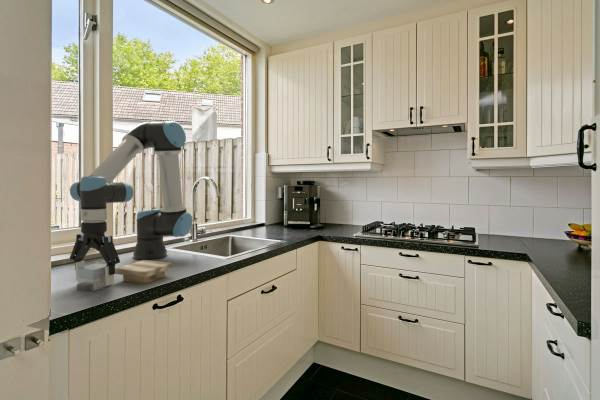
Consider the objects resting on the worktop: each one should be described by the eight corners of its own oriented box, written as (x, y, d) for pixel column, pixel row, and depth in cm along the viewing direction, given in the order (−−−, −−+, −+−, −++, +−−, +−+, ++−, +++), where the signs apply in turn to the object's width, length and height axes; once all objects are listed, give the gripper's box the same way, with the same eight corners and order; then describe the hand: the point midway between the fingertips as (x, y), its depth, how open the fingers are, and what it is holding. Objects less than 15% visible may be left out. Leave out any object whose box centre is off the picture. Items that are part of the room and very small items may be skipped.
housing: (96, 282, 118) (96, 263, 118) (111, 284, 116) (111, 265, 116) (73, 289, 110) (73, 269, 110) (89, 292, 108) (88, 271, 107)
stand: (143, 272, 132) (143, 259, 132) (172, 275, 128) (172, 263, 127) (114, 281, 119) (114, 268, 119) (145, 286, 114) (144, 272, 114)
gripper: (57, 220, 113) (58, 280, 114) (112, 224, 105) (113, 289, 106) (77, 218, 120) (78, 275, 121) (131, 221, 112) (131, 282, 113)
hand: (94, 281), depth 114 cm, fingers open, 13 cm apart
